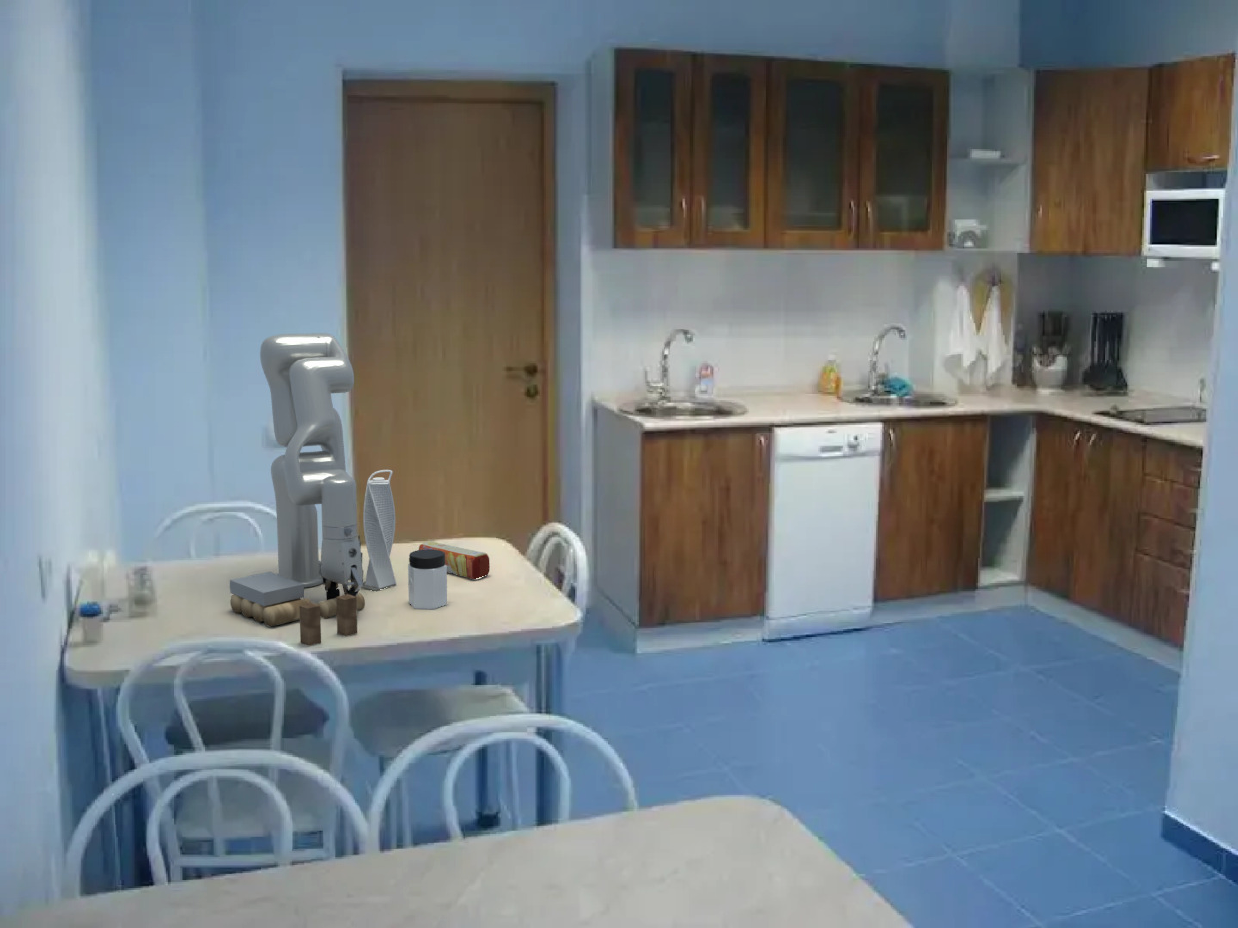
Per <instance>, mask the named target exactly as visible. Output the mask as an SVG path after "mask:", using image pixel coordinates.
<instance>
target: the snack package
mask: <svg viewBox="0 0 1238 928" xmlns="http://www.w3.org/2000/svg"><path fill="white" fill-rule="evenodd" d="M426 549H431V550H440V551H443V552H444V553H445V565H446V566H447V574H448V573H449V574H452V573H453V575H456V574H457V576H459V575H461V577H463V576H465V577H464V578H466V577H468V578H467V579H470V578H471V579H470V580H472V579H476V578H479V577H482V576H485V575H487V576H488V575H489V573H490V567H491V566H490V557H489V555H488V553H486V552H483V551H478V550H474V549H468V548H463V547H459V546H454V545H450V544H445V543H440V542H439V543H438V542H436V541H433V540H431V541H430V540H429V541H427V542H423V543H421V544H419V546H418V550H426Z"/></svg>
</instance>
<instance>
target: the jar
mask: <svg viewBox="0 0 1238 928" xmlns="http://www.w3.org/2000/svg"><path fill="white" fill-rule="evenodd" d="M408 556H409V558H408V562H409V563H408V565H407V570H408V571H407V572H408V573H407V575H408V576H407V578H408V580H407V581H408V582H407V583H408V586H407V587H408V604H409V605H410V604H411V605H410V606H411V607H412V608H413V609H415V608H416V610H417V609H419V610H420V609H421V610H435V609H439V608H441V606H442V607H443V606H444V605H445V606H447V605H448V572H447V566H446V565H445V553H444V552H443V551H440V550H431V549H426V550H419V549H418V550H414V551H411V552H410V553H409V555H408ZM446 604H447V605H446ZM438 607H439V608H438Z"/></svg>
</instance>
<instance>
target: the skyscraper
mask: <svg viewBox="0 0 1238 928" xmlns="http://www.w3.org/2000/svg"><path fill="white" fill-rule="evenodd" d="M386 472H387V473H389V477H388V479H385V478H384V477H374V476H375V475H376V474H379V473H386ZM393 473H394V472H393V470H391V469H380V470H377V471H374V472H373V473H371V474H370V476H369V477H368V479H367V481H366V482H367V483H366V489H365V495H364V503H363V511H362V512H363V514H362V515H363V516H362V517H363V520H362V521H363V532H364V533H363V535H364V540H365V545H366V550H367V553H368V558H369V559H368V564H367V565H368V566H367V570H366V576H365V581H364V579H363V580H362V582H363V586H362V587H361V588H360V589H362V588H364V589H363V590H366V589H368V591H370V590H372V591H371V592H374V591H376V592H379V591H381V590H380V589H383V590H385V589H384V588H386V587H389V588H391V587H390V586H393V587H395V585H396V586H397V582H396V577H395V573H394V569H393V565H392V560H391V557H390V556H391V553H392V550H393V549H392V548H393V544H394V540H395V531H396V508H395V503H394V502H395V501H394V496H393V492H392V487H391V478H392V477H393ZM360 538H361V537H360V534H357V539H358V540H359V544H360V550H361V549H362V547H361V544H362V542H361V539H360ZM361 557H362V558H363V552H362V550H361ZM362 569H363V567H362ZM363 570H364V569H363ZM386 589H387V588H386ZM378 590H379V591H378Z"/></svg>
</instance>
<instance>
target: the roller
mask: <svg viewBox="0 0 1238 928" xmlns="http://www.w3.org/2000/svg"><path fill="white" fill-rule="evenodd" d="M356 597H357V611H361V610H363V609H364V608H365V605H366V601H365V600H366V599H365V596H364V595H363V594H362V593H361V592H358V595H357V596H356ZM317 605H320V618H323V619H326V618H330V617H331V618H332V617H337V603H336V598H334V599H329V600H322V601H319V602H318V603H317Z"/></svg>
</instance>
